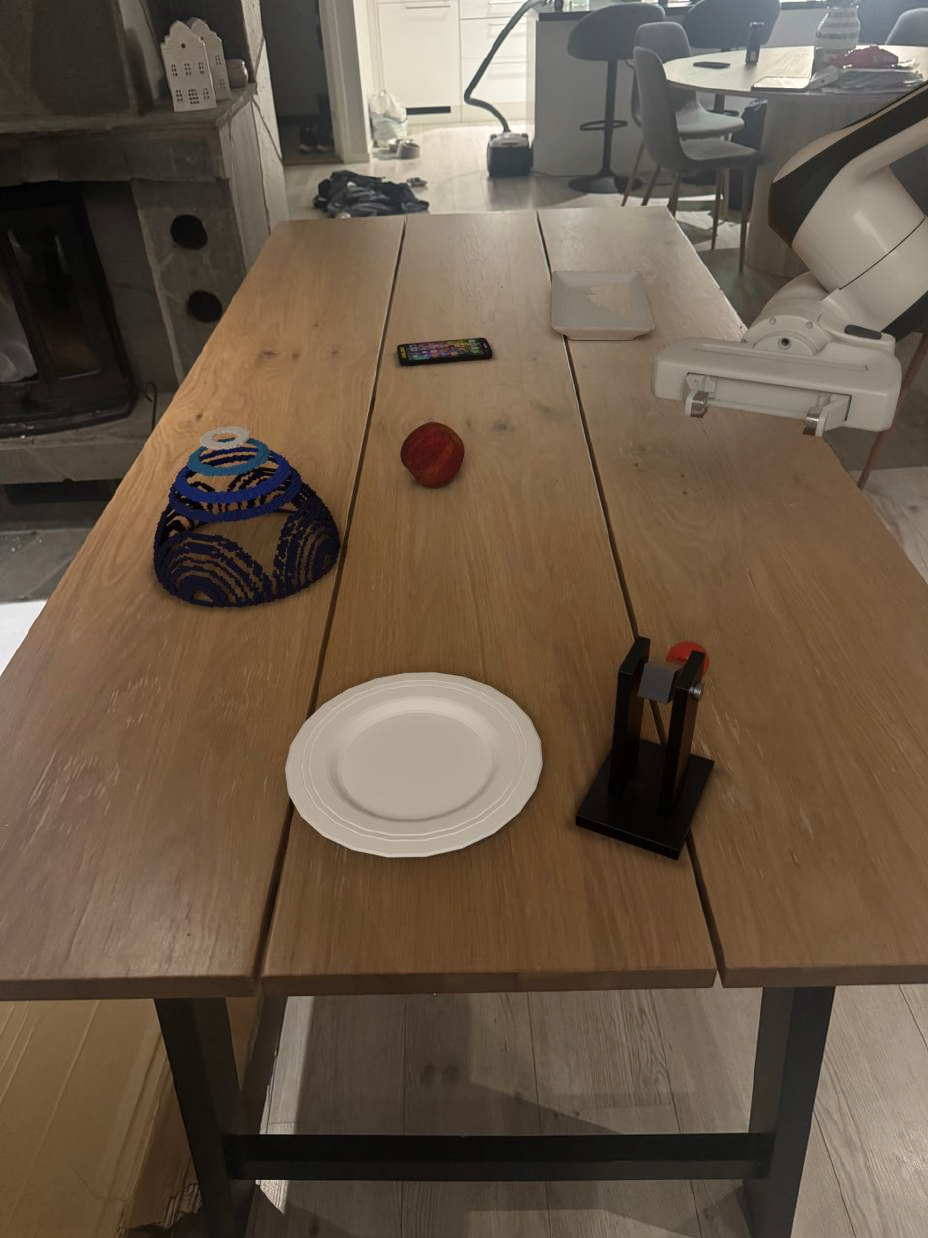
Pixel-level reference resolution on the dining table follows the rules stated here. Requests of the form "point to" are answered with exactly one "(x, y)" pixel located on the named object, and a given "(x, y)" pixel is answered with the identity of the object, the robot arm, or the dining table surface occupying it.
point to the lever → (667, 672)
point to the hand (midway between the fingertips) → (752, 418)
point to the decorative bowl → (262, 489)
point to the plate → (414, 765)
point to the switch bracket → (650, 765)
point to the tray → (590, 320)
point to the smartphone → (444, 351)
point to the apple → (433, 454)
